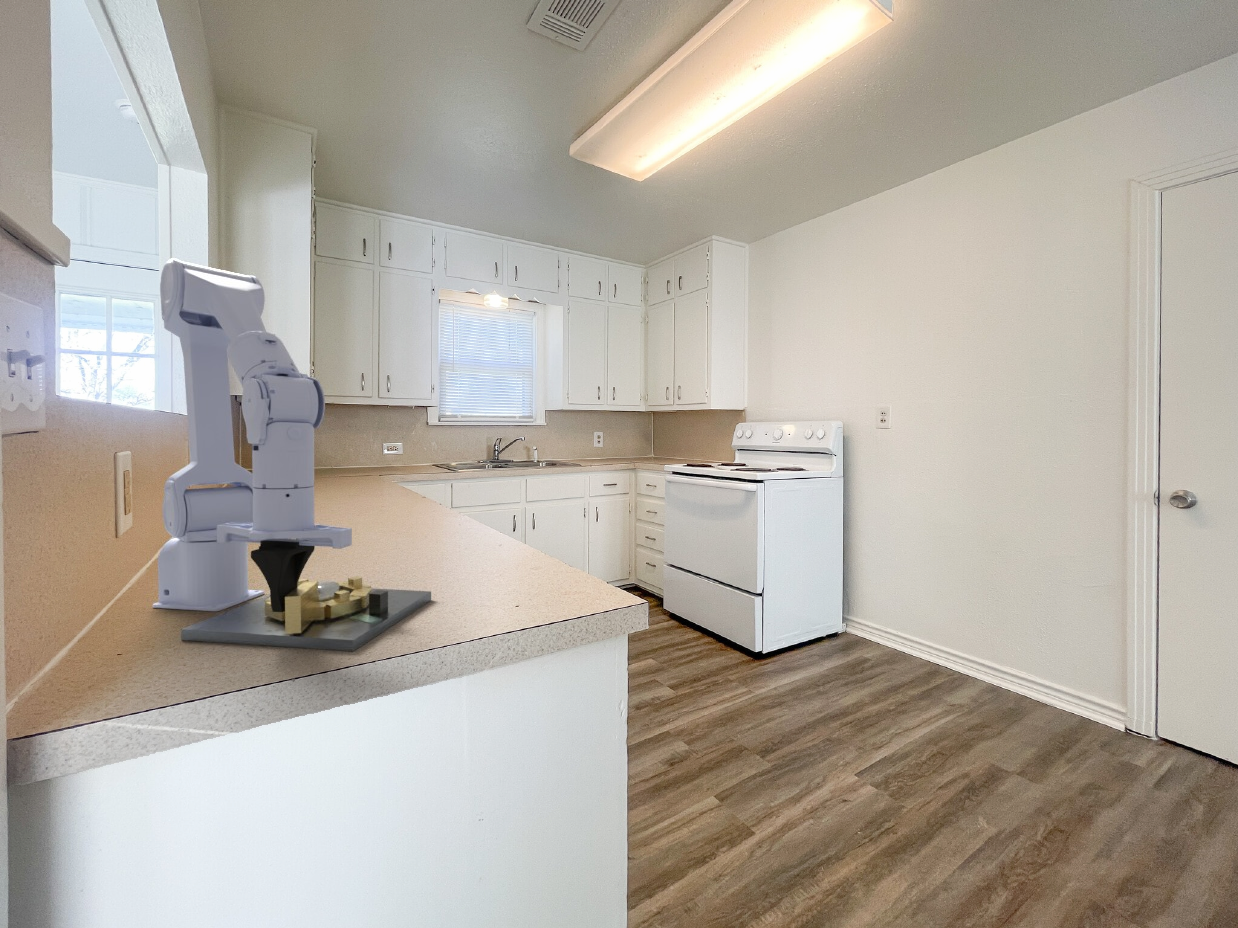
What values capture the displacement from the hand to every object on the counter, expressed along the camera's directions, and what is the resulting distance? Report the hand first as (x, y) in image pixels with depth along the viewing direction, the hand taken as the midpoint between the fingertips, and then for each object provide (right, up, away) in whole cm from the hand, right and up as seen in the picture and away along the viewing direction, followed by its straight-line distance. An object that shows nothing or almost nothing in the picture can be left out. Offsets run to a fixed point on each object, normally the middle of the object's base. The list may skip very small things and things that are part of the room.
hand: (284, 609), depth 59 cm
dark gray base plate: (0, -3, +7) cm, 8 cm away
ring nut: (0, -2, +5) cm, 6 cm away
